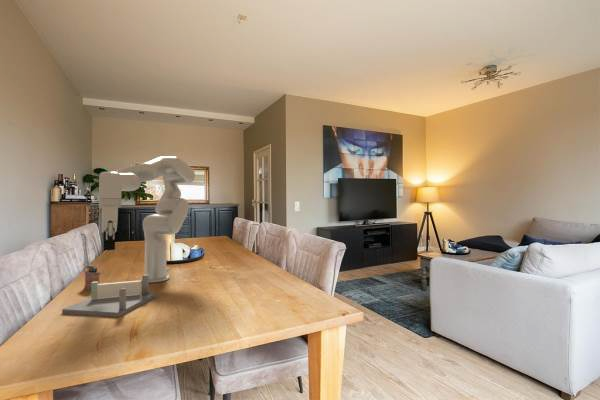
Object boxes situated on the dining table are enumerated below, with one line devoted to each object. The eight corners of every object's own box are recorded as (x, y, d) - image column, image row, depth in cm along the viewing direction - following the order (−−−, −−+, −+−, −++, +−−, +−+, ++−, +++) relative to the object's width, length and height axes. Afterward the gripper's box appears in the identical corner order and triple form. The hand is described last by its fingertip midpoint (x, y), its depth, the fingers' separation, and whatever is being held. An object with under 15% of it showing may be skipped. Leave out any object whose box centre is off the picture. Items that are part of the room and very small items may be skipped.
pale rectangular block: (140, 292, 120) (141, 277, 120) (140, 294, 118) (140, 278, 118) (92, 297, 114) (92, 281, 114) (91, 299, 112) (91, 282, 112)
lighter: (101, 288, 131) (102, 265, 131) (93, 291, 128) (94, 267, 128) (90, 286, 135) (90, 264, 134) (82, 288, 131) (82, 265, 131)
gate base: (108, 294, 124) (108, 272, 124) (156, 296, 121) (156, 274, 121) (62, 313, 103) (62, 287, 103) (119, 317, 101) (119, 290, 101)
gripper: (99, 202, 125) (98, 246, 125) (98, 203, 111) (98, 253, 111) (120, 202, 129) (119, 245, 129) (122, 203, 115) (122, 251, 115)
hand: (109, 248), depth 120 cm, fingers open, 5 cm apart
